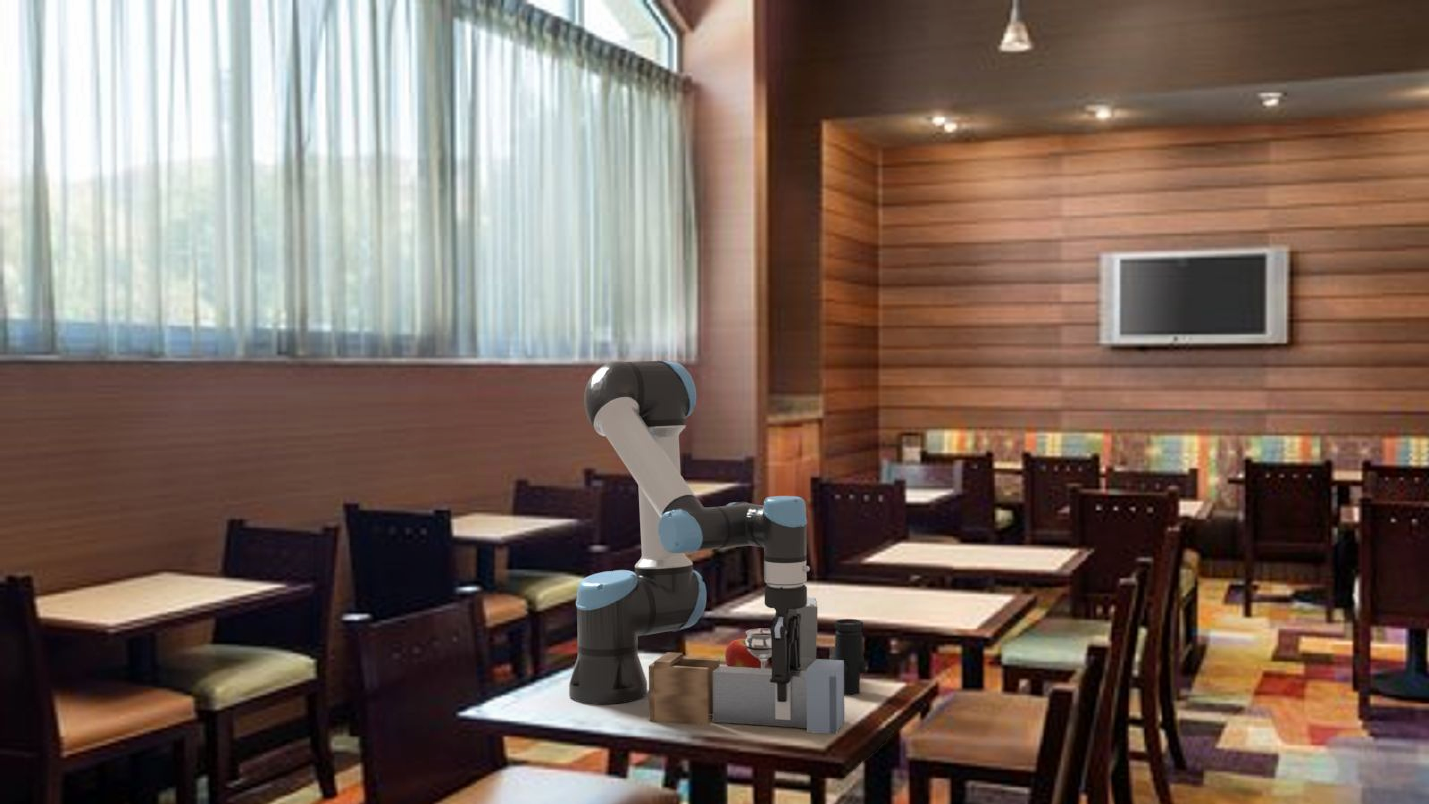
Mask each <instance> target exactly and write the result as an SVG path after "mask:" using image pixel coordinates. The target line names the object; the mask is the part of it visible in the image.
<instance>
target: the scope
mask: <svg viewBox="0 0 1429 804" xmlns="http://www.w3.org/2000/svg"><path fill="white" fill-rule="evenodd" d="M863 627H864V622H863V621H862V620H860V619H855V618H854V619H853V618H846V619H845V618H842V619H838V620H836V621H835V622H834V628H835V629H836V630H835V636H834V638H835V639H834V647H833V646H832V647H831V646H829V658H825V660H843V661H844V696H857V695H860V694H861V684H860V683H861V681H860V680H861V679H860V677H861V674H867V673H868V672H869V669H870V666H869V663H868V661H865V658H864V657H865V656H864V643H863V642H864V641H863V638H864V637H863V631H862V629H863Z"/></svg>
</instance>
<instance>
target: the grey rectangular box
mask: <svg viewBox="0 0 1429 804" xmlns="http://www.w3.org/2000/svg"><path fill="white" fill-rule="evenodd" d="M712 676H713V715H712V722H714V723H724V724H725V723H728V724H741V725H756V726H769V727H771V726H773V727H784V728H798V729H800V728H801V729H807V678H806V671H800V670H790V675H789V679H790V681H789V682H791V720H782V719H775V683H771V682H770V679H772V668H766V667H765V668H747V667H730V666H727V665H726V666H725V665H720V666H719V667H718V668H716V669H715V670H714V671H713V672H712Z"/></svg>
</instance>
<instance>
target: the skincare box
mask: <svg viewBox="0 0 1429 804" xmlns="http://www.w3.org/2000/svg"><path fill="white" fill-rule="evenodd" d="M817 603H818V601H817V598H816V597H808V596H807V605H806V606H805V607H803V608H799V609H796V611H797V613H800V614H801V621H800V664H801V666H800V668H798V669H802V671H806V669H807V668H808V667H809V666H810V665H811V664H812V663H813V662H814V661H815V660H816V659H817V641H818V640H817V639H818V604H817Z"/></svg>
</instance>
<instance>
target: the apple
mask: <svg viewBox="0 0 1429 804" xmlns="http://www.w3.org/2000/svg"><path fill="white" fill-rule="evenodd" d="M745 637H746V638H747V635H746V636H745ZM746 638H739V639H735V640H731V642H730V643H728V644H727V647H726V649H725V654H724V655H725V656H724V657H725V663H726V666H730V667H747V668H761V661H759V659H758V658H756V657H754V656H752V655H751V654H750V652H749V651H748V650H747V648H746V646H745V645H746V644H745V641H746Z"/></svg>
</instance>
